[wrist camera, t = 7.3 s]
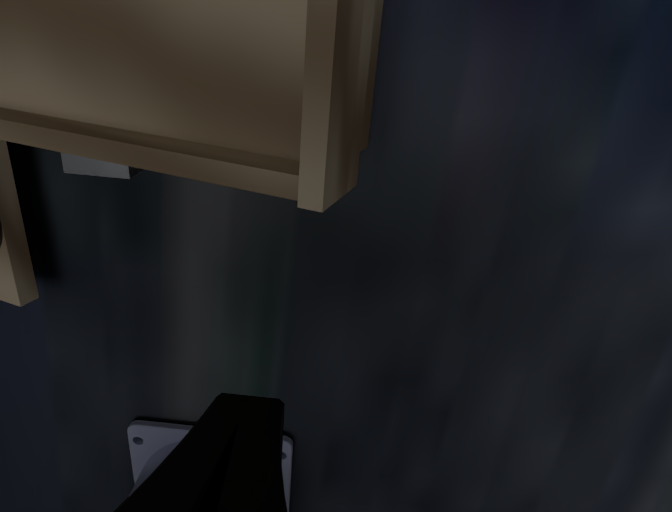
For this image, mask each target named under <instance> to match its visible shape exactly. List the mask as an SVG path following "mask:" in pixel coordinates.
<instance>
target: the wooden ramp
mask: <svg viewBox="0 0 672 512" xmlns="http://www.w3.org/2000/svg"><path fill="white" fill-rule="evenodd" d="M383 1H384V0H0V300H2V301H5V302H8V303H11V304H14V305H17V306H20V307H21V306H23V305H25V304H27V303H29V302H31V301H33V300H35V299H37V298H39V296H38V291H37V286H36V281H35V276H34V272H33V267H32V262H31V257H30V253H29V248H28V243H27V238H26V234H25V229H24V224H23V219H22V215H21V210H20V205H19V200H18V196H17V191H16V186H15V181H14V177H13V172H12V167H11V162H10V157H9V153H8V148H7V143H6V141H9V142H13V143H18V144H23V145H28V146H33V147H38V148H43V149H47V150H52V151H57V152H62V153H67V154H72V155H77V156H82V157H86V158H91V159H96V160H101V161H106V162H111V163H116V164H120V165H125V166H130V167H135V168H140V169H145V170H150V171H155V172H159V173H164V174H169V175H174V176H179V177H184V178H189V179H193V180H198V181H203V182H208V183H213V184H218V185H223V186H227V187H232V188H237V189H242V190H247V191H252V192H257V193H262V194H266V195H271V196H276V197H281V198H286V199H291V200H296V201H298V206H297V207H298V208H303V209H307V210H312V211H317V212H324V211H325V210H326V209H327V208H329V207H330V206H331V205H332V204H334V203H335V202H336V201H337V200H339V199H340V198H341V197H342V196H344V195H345V194H346V193H347V192H349V191H350V190H351V189H353V188H354V187H355V186H356V185H357V177H358V167H359V158H360V152H361V151H362V150H364V149H365V148H367V147H368V140H369V131H370V122H371V112H372V103H373V94H374V85H375V75H376V66H377V57H378V48H379V38H380V29H381V20H382V11H383Z"/></svg>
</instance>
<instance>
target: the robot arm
mask: <svg viewBox="0 0 672 512" xmlns="http://www.w3.org/2000/svg"><path fill="white" fill-rule="evenodd" d="M283 423H284V403H283V402H282V401H281V400H280V399H276V398H266V397H256V396H247V395H237V394H227V393H221V394H220V395H218V396H217V397H216V398H215V399H214V401H213V402H212V403H211V405H210V406H209V407H208V409H207V410H206V411H205V412H204V414H203V415H202V416H201V417H200V419H199V420H198V421H197V422H196V424H195V425H194V426H191V425H182V424H172V423H163V422H153V421H144V420H135V421H132V422H131V424H130V425H129V427H128V429H127V434H128V441H129V448H130V455H131V462H132V470H133V477H134V484H135V485H134V487H133V489H132V491H131V493H130V495H129V497H128V498H127V499H126V500H125V501H124V502H123V503H122V504H121V505H120V506H119V507H118V508H117V509H116V510H115V511H114V512H289V505H290V488H291V470H292V453H293V442H292V440H291V438H289V437H288V436H285V435H283ZM139 437H140V438H139ZM282 452H283V454H282Z"/></svg>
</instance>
